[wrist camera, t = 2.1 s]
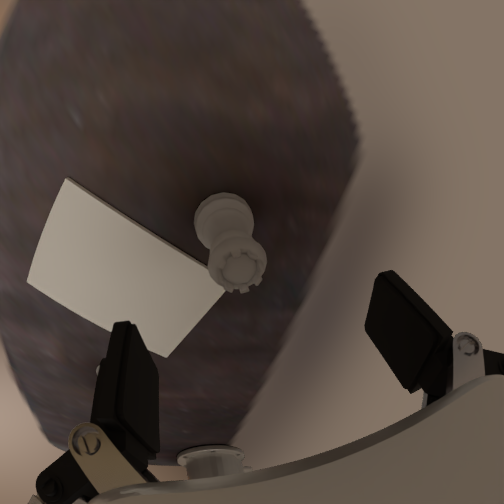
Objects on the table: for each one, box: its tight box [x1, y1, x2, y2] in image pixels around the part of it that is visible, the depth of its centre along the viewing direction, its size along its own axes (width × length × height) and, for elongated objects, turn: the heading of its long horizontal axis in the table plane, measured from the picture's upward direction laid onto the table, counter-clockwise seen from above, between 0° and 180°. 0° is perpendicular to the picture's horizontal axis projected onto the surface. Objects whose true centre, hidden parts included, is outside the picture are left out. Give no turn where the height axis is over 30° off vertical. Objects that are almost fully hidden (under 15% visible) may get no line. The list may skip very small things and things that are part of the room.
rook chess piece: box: [194, 192, 267, 293], centre depth 18 cm, size 4×4×8 cm
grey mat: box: [27, 177, 226, 358], centre depth 22 cm, size 16×11×1 cm
